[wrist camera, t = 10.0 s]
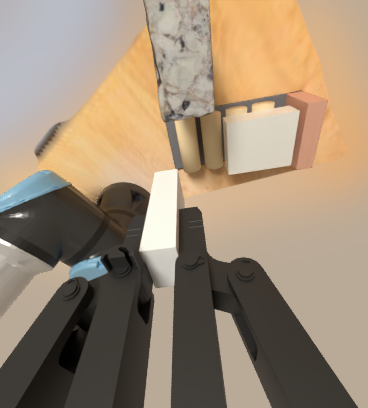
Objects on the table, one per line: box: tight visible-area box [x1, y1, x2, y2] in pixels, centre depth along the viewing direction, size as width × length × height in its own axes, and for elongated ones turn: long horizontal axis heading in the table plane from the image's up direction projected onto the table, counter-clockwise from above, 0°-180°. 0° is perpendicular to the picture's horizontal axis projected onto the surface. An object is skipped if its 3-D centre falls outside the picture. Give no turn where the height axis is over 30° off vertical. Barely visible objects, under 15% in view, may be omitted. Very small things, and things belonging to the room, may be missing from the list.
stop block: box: [285, 91, 328, 170], centre depth 40 cm, size 3×12×9 cm, turn 10°
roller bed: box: [166, 91, 301, 173], centre depth 42 cm, size 27×12×5 cm, turn 100°
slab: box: [223, 105, 300, 175], centre depth 39 cm, size 12×10×4 cm
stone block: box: [143, 0, 215, 122], centre depth 27 cm, size 13×7×20 cm, turn 13°
